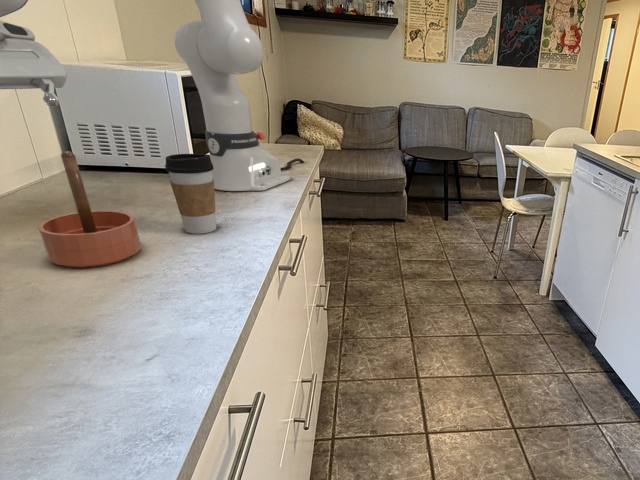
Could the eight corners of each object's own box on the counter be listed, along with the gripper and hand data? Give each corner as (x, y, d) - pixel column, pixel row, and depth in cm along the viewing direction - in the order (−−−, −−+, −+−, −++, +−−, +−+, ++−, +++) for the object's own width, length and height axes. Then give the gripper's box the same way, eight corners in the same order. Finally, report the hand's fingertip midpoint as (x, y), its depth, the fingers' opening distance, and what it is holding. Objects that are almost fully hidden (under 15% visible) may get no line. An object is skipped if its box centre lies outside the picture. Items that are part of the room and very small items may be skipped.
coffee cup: (205, 238, 93) (192, 161, 87) (168, 232, 95) (151, 156, 88) (231, 225, 101) (221, 153, 94) (196, 220, 102) (183, 149, 95)
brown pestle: (101, 244, 86) (73, 146, 78) (120, 250, 84) (94, 150, 76) (71, 252, 82) (38, 150, 74) (90, 259, 80) (59, 155, 72)
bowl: (110, 236, 91) (102, 206, 88) (158, 250, 86) (151, 219, 84) (32, 258, 80) (20, 224, 77) (82, 276, 75) (71, 240, 73)
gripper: (-111, 19, 72) (-48, 95, 73) (39, 29, 89) (88, 90, 90) (-111, 50, 76) (-52, 122, 77) (33, 54, 92) (80, 113, 94)
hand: (25, 105), depth 84 cm, fingers open, 8 cm apart
